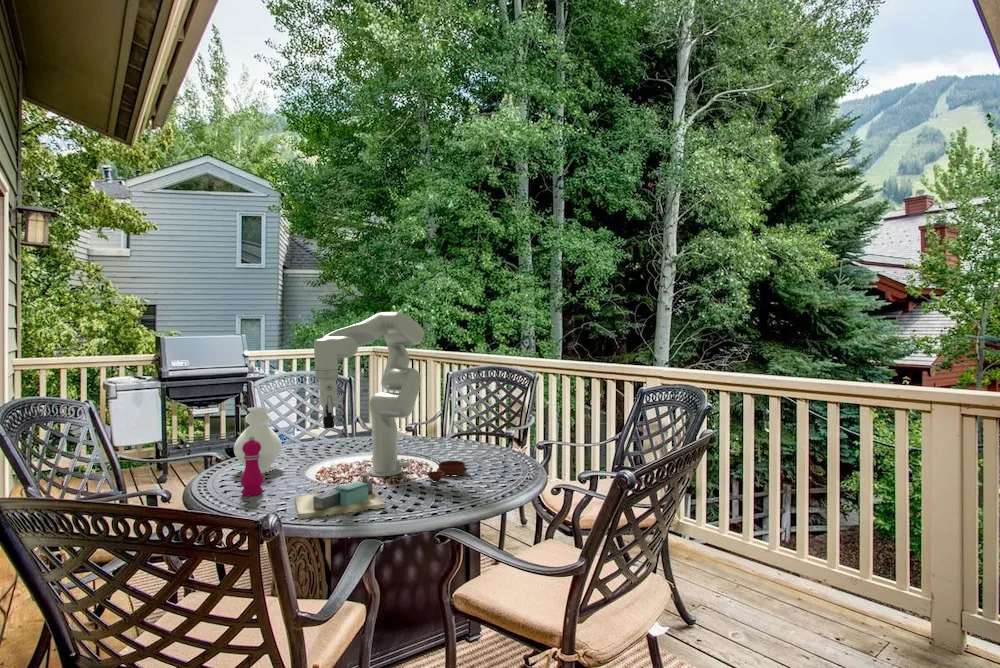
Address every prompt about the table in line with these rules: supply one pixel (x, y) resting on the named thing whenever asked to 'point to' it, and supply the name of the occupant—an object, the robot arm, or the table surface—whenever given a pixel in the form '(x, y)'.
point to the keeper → (353, 493)
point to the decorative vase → (259, 439)
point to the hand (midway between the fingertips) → (329, 427)
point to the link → (333, 498)
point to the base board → (306, 505)
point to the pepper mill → (251, 468)
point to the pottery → (447, 469)
